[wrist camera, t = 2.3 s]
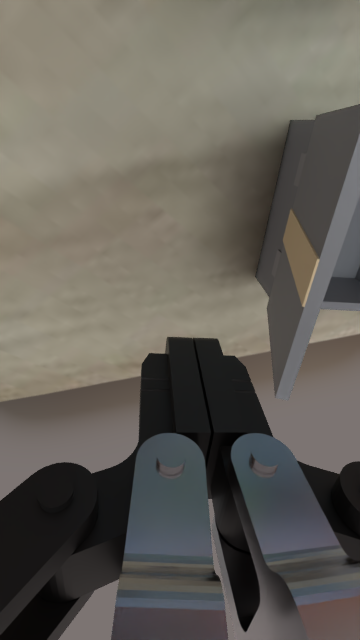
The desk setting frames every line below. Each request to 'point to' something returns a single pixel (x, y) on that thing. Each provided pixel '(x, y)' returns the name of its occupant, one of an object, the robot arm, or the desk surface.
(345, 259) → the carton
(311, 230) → the lid
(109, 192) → the desk surface
